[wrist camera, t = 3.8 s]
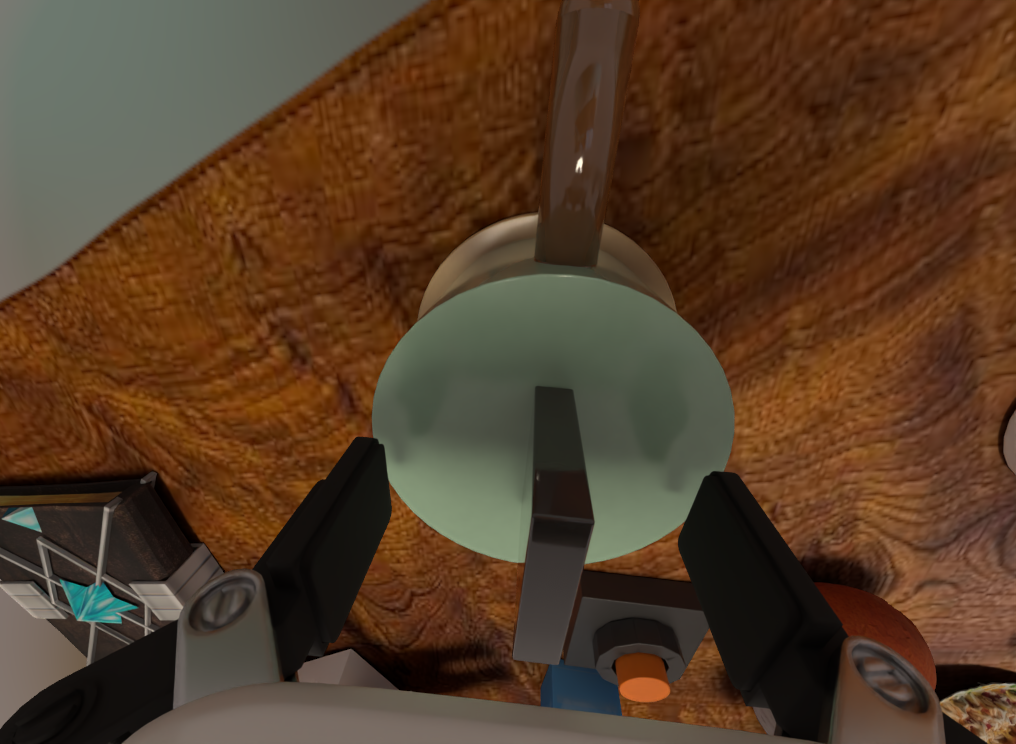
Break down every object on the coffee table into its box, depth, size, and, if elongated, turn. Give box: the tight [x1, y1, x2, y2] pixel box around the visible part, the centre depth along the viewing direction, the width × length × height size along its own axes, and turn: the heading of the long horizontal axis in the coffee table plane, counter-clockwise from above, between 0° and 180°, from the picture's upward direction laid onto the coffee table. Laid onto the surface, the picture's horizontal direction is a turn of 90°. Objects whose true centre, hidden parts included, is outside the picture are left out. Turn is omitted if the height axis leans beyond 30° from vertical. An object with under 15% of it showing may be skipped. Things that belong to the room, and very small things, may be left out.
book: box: [0, 471, 224, 666], centre depth 31 cm, size 22×17×5 cm
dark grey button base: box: [563, 570, 709, 686], centre depth 29 cm, size 10×10×4 cm
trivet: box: [418, 212, 677, 320], centre depth 20 cm, size 14×14×1 cm
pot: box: [372, 0, 734, 665], centre depth 12 cm, size 19×12×13 cm, turn 176°
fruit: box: [814, 582, 937, 691], centre depth 25 cm, size 9×9×8 cm
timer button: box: [615, 652, 670, 702], centre depth 27 cm, size 4×4×2 cm
